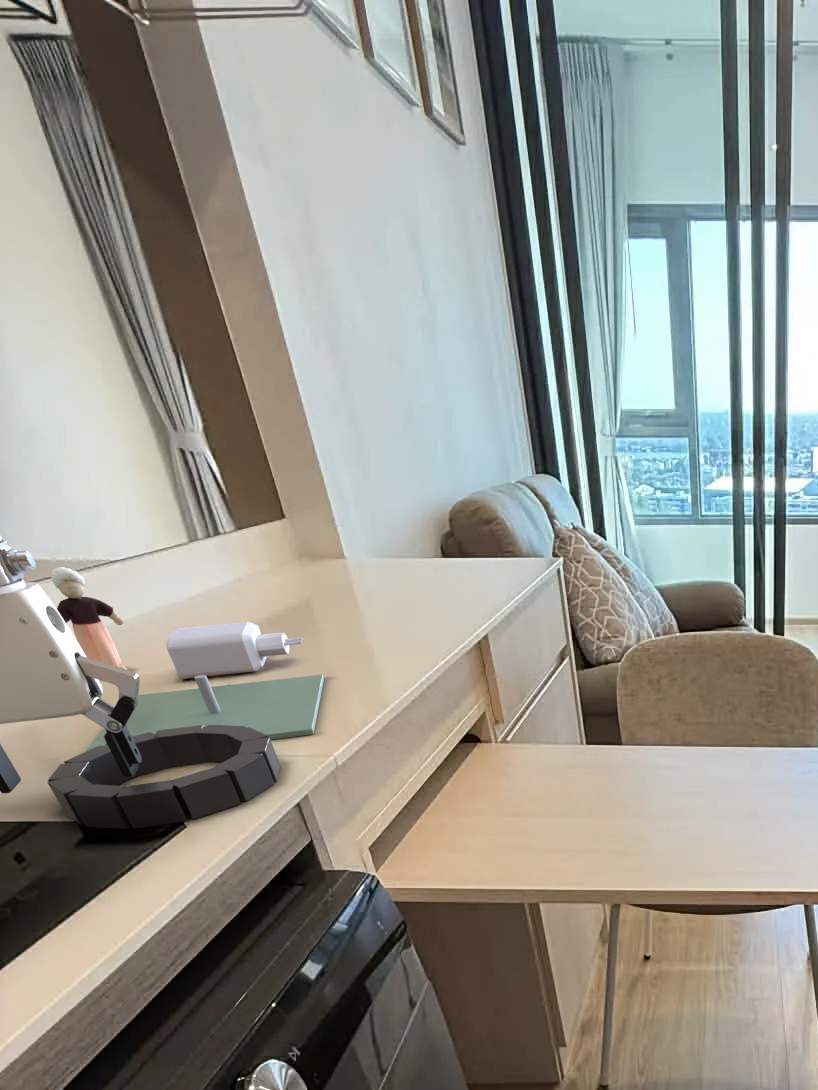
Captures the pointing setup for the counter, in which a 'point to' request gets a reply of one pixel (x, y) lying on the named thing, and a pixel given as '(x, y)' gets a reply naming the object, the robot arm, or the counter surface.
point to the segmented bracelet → (103, 804)
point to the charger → (224, 649)
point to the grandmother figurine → (86, 617)
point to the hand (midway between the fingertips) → (73, 779)
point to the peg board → (231, 707)
